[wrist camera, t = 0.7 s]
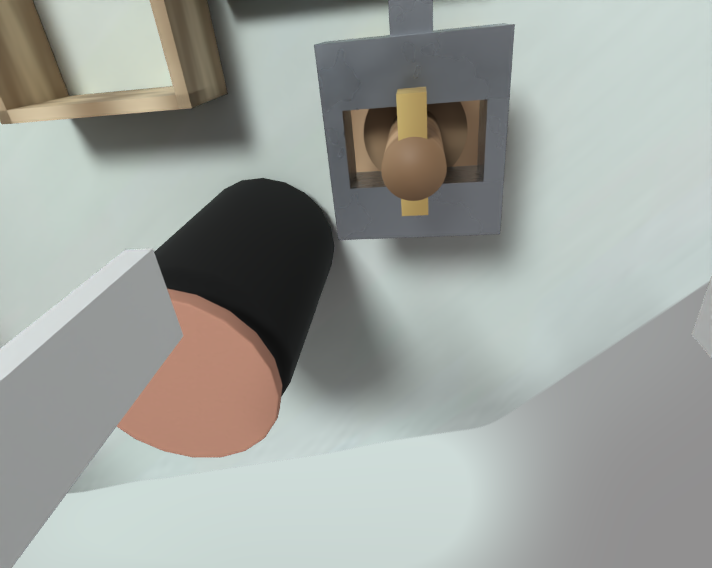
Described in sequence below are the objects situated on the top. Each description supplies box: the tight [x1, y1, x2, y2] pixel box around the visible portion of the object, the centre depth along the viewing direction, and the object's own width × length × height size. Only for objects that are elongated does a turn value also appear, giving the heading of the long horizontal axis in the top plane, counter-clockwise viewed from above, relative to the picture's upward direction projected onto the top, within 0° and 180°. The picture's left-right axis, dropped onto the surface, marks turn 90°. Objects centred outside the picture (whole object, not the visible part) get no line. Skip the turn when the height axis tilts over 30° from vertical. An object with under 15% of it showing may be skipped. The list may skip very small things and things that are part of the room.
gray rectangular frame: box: [314, 0, 515, 240], centre depth 24 cm, size 9×12×3 cm
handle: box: [351, 87, 480, 216], centre depth 26 cm, size 9×9×14 cm
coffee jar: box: [117, 178, 334, 457], centre depth 30 cm, size 11×11×18 cm
